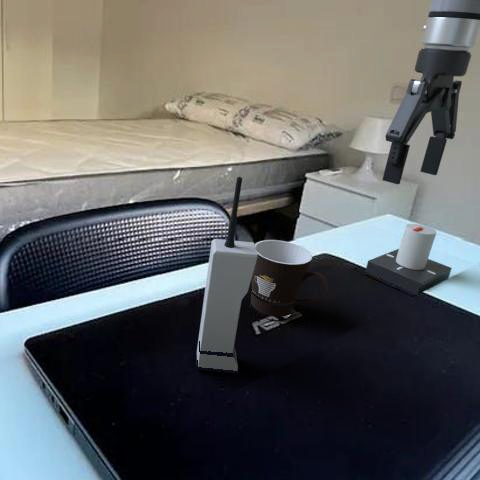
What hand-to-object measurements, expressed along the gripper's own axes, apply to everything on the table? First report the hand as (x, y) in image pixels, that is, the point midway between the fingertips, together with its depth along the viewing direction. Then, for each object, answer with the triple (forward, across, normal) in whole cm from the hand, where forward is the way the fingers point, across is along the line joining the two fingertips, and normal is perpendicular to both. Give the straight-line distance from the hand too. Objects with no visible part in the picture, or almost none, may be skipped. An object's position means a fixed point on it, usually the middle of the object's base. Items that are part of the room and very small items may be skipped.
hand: (410, 177), depth 88 cm
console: (+19, -1, +4) cm, 19 cm away
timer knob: (+16, -1, +4) cm, 16 cm away
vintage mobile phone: (+19, +48, +3) cm, 51 cm away
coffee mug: (+19, +31, -1) cm, 36 cm away
